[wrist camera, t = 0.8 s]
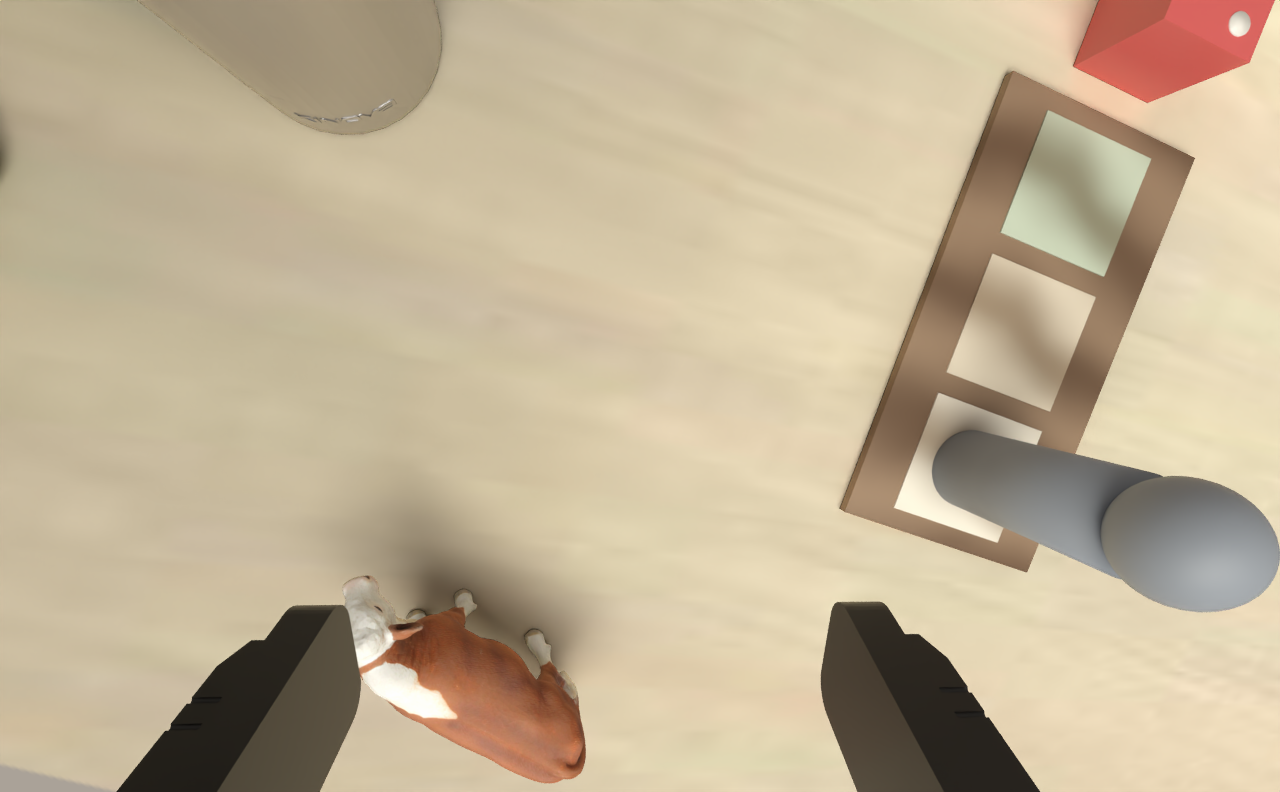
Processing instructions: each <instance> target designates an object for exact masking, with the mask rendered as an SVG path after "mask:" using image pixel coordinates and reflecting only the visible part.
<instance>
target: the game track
mask: <svg viewBox="0 0 1280 792" xmlns="http://www.w3.org/2000/svg"><path fill="white" fill-rule="evenodd" d="M1194 159H1195V158H1194V157H1192V156H1190V155H1188V154H1185V153H1183V152H1181V151H1179V150H1177V149H1175V148H1173V147H1171V146H1169V145H1167V144H1165V143H1163V142H1160V141H1158V140H1156V139H1154V138H1152V137H1150V136H1148V135H1146V134H1144V133H1142V132H1140V131H1138V130H1135V129H1133V128H1131V127H1129V126H1127V125H1125V124H1123V123H1121V122H1119V121H1117V120H1115V119H1113V118H1110V117H1108V116H1106V115H1104V114H1102V113H1100V112H1098V111H1096V110H1094V109H1092V108H1090V107H1088V106H1085V105H1083V104H1081V103H1079V102H1077V101H1075V100H1073V99H1071V98H1069V97H1067V96H1065V95H1062V94H1060V93H1058V92H1056V91H1054V90H1052V89H1050V88H1048V87H1046V86H1044V85H1042V84H1040V83H1037V82H1035V81H1033V80H1031V79H1029V78H1027V77H1025V76H1023V75H1021V74H1019V73H1017V72H1015V71H1013V72H1011V73H1009V74H1007V75H1006V76H1005V78H1004V80H1003V83H1002V86H1001V88H1000V91H999V93H998V96H997V99H996V101H995V104H994V107H993V109H992V112H991V114H990V117H989V120H988V122H987V125H986V127H985V130H984V133H983V135H982V138H981V141H980V143H979V146H978V148H977V151H976V154H975V156H974V159H973V161H972V164H971V167H970V169H969V172H968V175H967V177H966V180H965V182H964V185H963V188H962V190H961V193H960V196H959V198H958V201H957V203H956V206H955V209H954V211H953V214H952V216H951V219H950V222H949V224H948V227H947V230H946V232H945V235H944V237H943V240H942V243H941V245H940V248H939V251H938V253H937V256H936V258H935V261H934V264H933V266H932V269H931V271H930V274H929V277H928V279H927V282H926V285H925V287H924V290H923V292H922V295H921V298H920V300H919V303H918V306H917V308H916V311H915V313H914V316H913V319H912V321H911V324H910V326H909V329H908V332H907V334H906V337H905V340H904V342H903V345H902V347H901V350H900V353H899V355H898V358H897V360H896V363H895V366H894V368H893V371H892V374H891V376H890V379H889V381H888V384H887V387H886V389H885V392H884V395H883V397H882V400H881V402H880V405H879V408H878V410H877V413H876V415H875V418H874V421H873V423H872V426H871V429H870V431H869V434H868V436H867V439H866V442H865V444H864V447H863V450H862V452H861V455H860V457H859V460H858V463H857V465H856V468H855V470H854V473H853V476H852V478H851V481H850V484H849V486H848V489H847V491H846V494H845V497H844V499H843V502H842V505H841V507H840V509H841V510H843V511H844V512H847V513H850V514H853V515H856V516H859V517H862V518H865V519H868V520H871V521H874V522H877V523H880V524H883V525H886V526H889V527H892V528H895V529H898V530H901V531H904V532H907V533H910V534H913V535H916V536H919V537H922V538H925V539H928V540H931V541H934V542H937V543H940V544H943V545H946V546H949V547H952V548H955V549H958V550H961V551H964V552H967V553H970V554H973V555H976V556H979V557H982V558H985V559H988V560H991V561H994V562H997V563H1000V564H1003V565H1006V566H1009V567H1012V568H1015V569H1018V570H1021V571H1024V572H1027V571H1028V569H1029V566H1030V564H1031V561H1032V559H1033V556H1034V554H1035V551H1036V549H1037V547H1038V544H1039V543H1037V542H1035V541H1032V540H1030V539H1028V538H1026V537H1023V536H1021V535H1019V534H1017V533H1015V532H1012V531H1010V530H1008V529H1006V528H1003V527H1001V526H999V525H997V524H995V523H992V522H990V521H988V520H986V519H983V518H981V517H979V516H977V515H974V514H972V513H970V512H968V511H966V510H963V509H961V508H959V507H957V506H954V505H952V504H950V503H948V502H947V501H945V500H944V499H943V498H942V497H941V496H940V495H939V493H938V492H937V490H936V488H935V486H934V483H933V478H932V466H933V461H934V458H935V455H936V453H937V451H938V450H939V448H940V447H941V445H942V444H943V443H944V442H945V441H946V440H947V439H948V438H950V437H951V436H953V435H955V434H957V433H959V432H962V431H967V430H976V431H982V432H986V433H990V434H994V435H998V436H1002V437H1006V438H1011V439H1015V440H1019V441H1023V442H1027V443H1031V444H1035V445H1040V446H1044V447H1048V448H1052V449H1056V450H1060V451H1064V452H1069V453H1073V454H1075V453H1076V450H1077V448H1078V445H1079V443H1080V440H1081V438H1082V436H1083V433H1084V431H1085V428H1086V426H1087V423H1088V421H1089V418H1090V416H1091V413H1092V411H1093V408H1094V406H1095V403H1096V401H1097V399H1098V396H1099V394H1100V391H1101V389H1102V386H1103V384H1104V381H1105V379H1106V376H1107V374H1108V371H1109V369H1110V366H1111V364H1112V362H1113V359H1114V357H1115V354H1116V352H1117V349H1118V347H1119V344H1120V342H1121V339H1122V337H1123V334H1124V332H1125V329H1126V327H1127V324H1128V322H1129V320H1130V317H1131V315H1132V312H1133V310H1134V307H1135V305H1136V302H1137V300H1138V297H1139V295H1140V292H1141V290H1142V287H1143V285H1144V283H1145V280H1146V278H1147V275H1148V273H1149V270H1150V268H1151V265H1152V263H1153V260H1154V258H1155V255H1156V253H1157V250H1158V248H1159V246H1160V243H1161V241H1162V238H1163V236H1164V233H1165V231H1166V228H1167V226H1168V223H1169V221H1170V218H1171V216H1172V213H1173V211H1174V209H1175V206H1176V204H1177V201H1178V199H1179V196H1180V194H1181V191H1182V189H1183V186H1184V184H1185V181H1186V179H1187V176H1188V174H1189V172H1190V169H1191V167H1192V164H1193V162H1194Z"/></svg>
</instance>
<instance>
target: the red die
mask: <svg viewBox="0 0 1280 792" xmlns="http://www.w3.org/2000/svg"><path fill="white" fill-rule="evenodd" d="M1274 1H1275V0H1099V2H1098V4H1097V7H1096V9H1095V12H1094V14H1093V17H1092V20H1091V22H1090V25H1089V27H1088V30H1087V32H1086V35H1085V38H1084V40H1083V43H1082V45H1081V48H1080V50H1079V53H1078V56H1077V58H1076V61H1075V63H1074V67H1076V68H1078V69H1080V70H1082V71H1084V72H1086V73H1088V74H1090V75H1092V76H1094V77H1096V78H1098V79H1100V80H1102V81H1104V82H1106V83H1108V84H1110V85H1112V86H1114V87H1116V88H1118V89H1121V90H1123V91H1125V92H1127V93H1129V94H1131V95H1133V96H1135V97H1137V98H1139V99H1141V100H1143V101H1145V102H1147V103H1148V102H1151V101H1153V100H1156V99H1159V98H1161V97H1164V96H1166V95H1169V94H1171V93H1174V92H1176V91H1179V90H1181V89H1184V88H1186V87H1189V86H1192V85H1194V84H1197V83H1199V82H1202V81H1204V80H1207V79H1209V78H1212V77H1214V76H1217V75H1219V74H1222V73H1224V72H1227V71H1230V70H1232V69H1235V68H1237V67H1240V66H1242V65H1245V64H1247V63H1249V62H1250V60H1251V57H1252V55H1253V52H1254V50H1255V48H1256V45H1257V43H1258V40H1259V38H1260V35H1261V33H1262V30H1263V28H1264V25H1265V23H1266V20H1267V18H1268V16H1269V13H1270V11H1271V8H1272V6H1273V3H1274Z"/></svg>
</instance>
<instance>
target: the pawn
mask: <svg viewBox="0 0 1280 792" xmlns="http://www.w3.org/2000/svg"><path fill="white" fill-rule="evenodd" d="M932 478H933V483H934V486H935V488H936V490H937V492H938V493H939V495H940V496H941V497H942V498H943V499H944V500H945V501H947V502H948V503H950V504H952V505H954V506H957V507H959V508H961V509H963V510H966V511H968V512H970V513H972V514H974V515H977V516H979V517H981V518H983V519H986V520H988V521H990V522H992V523H995V524H997V525H999V526H1001V527H1003V528H1006V529H1008V530H1010V531H1012V532H1015V533H1017V534H1019V535H1021V536H1023V537H1026V538H1028V539H1030V540H1032V541H1035V542H1037V543H1039V544H1041V545H1043V546H1046V547H1048V548H1050V549H1052V550H1055V551H1057V552H1059V553H1061V554H1064V555H1066V556H1068V557H1070V558H1072V559H1075V560H1077V561H1079V562H1081V563H1084V564H1086V565H1088V566H1090V567H1092V568H1095V569H1097V570H1099V571H1101V572H1104V573H1106V574H1108V575H1110V576H1113V577H1115V578H1118V579H1122V580H1123V581H1124V582H1125V583H1127V584H1128V585H1129V586H1130V587H1131V588H1133V589H1134V590H1135V591H1137V592H1138V593H1140V594H1142V595H1143V596H1145V597H1147V598H1149V599H1151V600H1153V601H1155V602H1157V603H1160V604H1162V605H1165V606H1168V607H1172V608H1176V609H1180V610H1185V611H1193V612H1217V611H1223V610H1229V609H1232V608H1235V607H1238V606H1241V605H1244V604H1246V603H1248V602H1250V601H1252V600H1253V599H1255V598H1256V597H1258V596H1259V595H1260V594H1262V593H1263V592H1264V591H1265V590H1266V589H1267V588H1268V586H1269V585H1270V584H1271V582H1272V581H1273V579H1274V577H1275V575H1276V572H1277V570H1278V566H1279V560H1280V549H1279V544H1278V540H1277V537H1276V534H1275V532H1274V530H1273V528H1272V526H1271V525H1270V523H1269V521H1268V520H1267V518H1266V517H1265V516H1264V515H1263V514H1262V512H1261V511H1260V510H1259V509H1258V508H1257V507H1256V506H1255V505H1254V504H1252V503H1251V502H1250V501H1249V500H1247V499H1246V498H1244V497H1243V496H1242V495H1240V494H1238V493H1237V492H1235V491H1233V490H1231V489H1229V488H1227V487H1224V486H1222V485H1220V484H1217V483H1214V482H1211V481H1207V480H1204V479H1199V478H1193V477H1185V476H1167V477H1163V476H1161V475H1158V474H1155V473H1151V472H1147V471H1143V470H1139V469H1135V468H1131V467H1127V466H1122V465H1118V464H1114V463H1110V462H1106V461H1102V460H1098V459H1093V458H1089V457H1085V456H1081V455H1077V454H1073V453H1069V452H1064V451H1060V450H1056V449H1052V448H1048V447H1044V446H1040V445H1035V444H1031V443H1027V442H1023V441H1019V440H1015V439H1011V438H1006V437H1002V436H998V435H994V434H990V433H986V432H982V431H976V430H967V431H962V432H959V433H957V434H955V435H953V436H951V437H950V438H948V439H947V440H946V441H945V442H944V443H943V444H942V445H941V447H940V448H939V450H938V451H937V453H936V455H935V458H934V461H933V466H932Z"/></svg>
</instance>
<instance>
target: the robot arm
mask: <svg viewBox="0 0 1280 792" xmlns="http://www.w3.org/2000/svg"><path fill="white" fill-rule="evenodd" d="M137 1H139V2H140V3H141V4H143V5H144V6H145V7H146V8H148V9H149V10H150V11H152V12H153V13H154V14H155V15H157V16H158V17H159V18H161V19H162V20H163V21H165V22H166V23H167V24H168V25H170V26H171V27H172V28H174V29H175V30H176V31H177V32H179V33H180V34H181V35H183V36H184V37H185V38H186V39H188V40H189V41H190V42H192V43H193V44H194V45H196V46H197V47H198V48H199V49H201V50H202V51H203V52H205V53H206V54H207V55H208V56H210V57H211V58H212V59H214V60H215V61H216V62H218V63H219V64H220V65H221V66H223V67H224V68H225V69H227V70H228V71H229V72H230V73H232V74H233V75H234V76H235V77H237V78H238V79H239V80H241V81H242V82H243V83H244V84H246V85H247V86H248V87H250V88H251V89H252V90H254V91H255V92H256V93H257V94H259V95H260V96H261V97H263V98H264V99H265V100H267V101H268V102H269V103H270V104H272V105H273V106H274V107H276V108H277V109H278V110H280V111H281V112H283V113H284V114H286V115H287V116H289V117H291V118H292V119H294V120H295V121H297V122H299V123H301V124H304V125H306V126H309V127H311V128H314V129H316V130H319V131H324V132H330V133H335V134H341V135H343V134H364V133H368V132H372V131H376V130H379V129H383V128H385V127H387V126H389V125H391V124H393V123H395V122H397V121H399V120H401V119H402V118H403V117H404V116H406V115H407V114H408V113H409V112H410V111H412V110H413V109H414V108H415V107H416V106H417V105H418V104H419V102H420V101H421V100H422V98H423V97H424V96H425V94H426V93H427V92H428V90H429V88H430V86H431V84H432V81H433V79H434V77H435V75H436V72H437V69H438V64H439V59H440V54H441V27H440V22H439V18H438V13H437V9H436V6H435V3H434V1H433V0H137ZM360 690H361V679H360V672H359V666H358V661H357V655H356V650H355V644H354V639H353V633H352V627H351V622H350V616H349V613H348V610H347V609H346V607H345V606H343V605H303V606H293V607H291V608H289V609H288V610H287V611H286V612H285V614H284V615H283V616H282V618H281V619H280V620H279V622H278V623H277V624H276V626H275V627H274V628H273V630H272V631H271V632H270V634H269V635H268V636H267V638H266V639H265V640H251V641H250V642H249V643H247V644H246V645H245V646H243V647H242V648H241V649H239V650H238V651H237V652H235V653H234V654H233V655H231V656H230V657H229V658H227V659H226V660H225V661H223V662H222V663H221V664H219V665H218V666H217V667H216V668H215V669H214V671H213V672H212V673H211V674H210V676H209V677H208V678H207V679H206V681H205V682H204V683H203V684H202V686H201V687H200V688H199V689H198V691H197V692H196V693H195V694H194V696H193V697H192V701H191V703H190V704H186V706H185V707H184V708H183V709H182V711H181V712H180V713H179V714H178V716H177V717H176V718H175V719H174V721H173V722H172V723H171V728H170V730H169V731H165V732H164V733H163V734H162V736H161V737H160V738H159V739H158V741H157V742H156V743H155V744H154V745H153V747H152V748H151V749H150V750H149V752H148V753H147V754H146V755H145V757H144V758H143V759H142V760H141V762H140V763H139V764H138V765H137V767H136V768H135V769H134V770H133V772H132V773H131V774H130V775H129V777H128V778H127V779H126V780H125V782H124V783H123V784H122V785H121V787H120V788H119V789H118V790H117V792H320V790H321V788H322V785H323V783H324V781H325V779H326V777H327V775H328V773H329V771H330V769H331V766H332V764H333V762H334V760H335V758H336V756H337V754H338V752H339V750H340V747H341V745H342V743H343V741H344V739H345V737H346V735H347V733H348V731H349V728H350V726H351V724H352V722H353V720H354V717H355V714H356V711H357V708H358V703H359V698H360ZM821 691H822V698H823V703H824V707H825V710H826V713H827V716H828V719H829V721H830V724H831V726H832V729H833V731H834V734H835V736H836V739H837V741H838V744H839V746H840V749H841V751H842V754H843V756H844V759H845V761H846V764H847V766H848V769H849V772H850V774H851V777H852V779H853V782H854V784H855V787H856V789H857V792H1040V791H1039V789H1038V788H1037V787H1036V785H1035V784H1034V782H1033V781H1032V779H1031V778H1030V776H1029V775H1028V774H1027V772H1026V771H1025V769H1024V768H1023V766H1022V765H1021V763H1020V762H1019V761H1018V759H1017V758H1016V756H1015V755H1014V753H1013V752H1012V750H1011V749H1010V747H1009V746H1008V745H1007V743H1006V742H1005V740H1004V739H1003V737H1002V736H1001V734H1000V733H999V732H998V730H997V729H996V727H995V726H994V724H993V723H992V721H991V720H990V719H989V717H987V718H986V717H985V714H984V710H983V708H982V707H981V706H980V704H979V703H978V701H977V700H976V698H975V697H974V695H973V694H972V693H969V692H968V689H967V685H966V684H965V682H964V681H963V680H962V678H961V677H960V675H959V674H958V672H957V671H956V669H955V668H954V667H953V665H952V664H951V662H950V661H949V659H948V658H947V657H946V656H944V655H943V654H942V653H941V652H940V651H938V650H937V649H936V648H935V647H934V646H932V645H931V644H930V643H929V642H928V641H926V640H925V639H924V638H923V637H921V636H920V635H919V634H904V632H903V631H902V629H901V627H900V626H899V624H898V623H897V621H896V619H895V618H894V616H893V615H892V613H891V612H890V610H889V609H888V607H887V606H886V605H885V604H884V603H882V602H837V603H835V604H834V606H833V608H832V611H831V617H830V623H829V628H828V634H827V640H826V646H825V652H824V658H823V664H822V670H821Z"/></svg>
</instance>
